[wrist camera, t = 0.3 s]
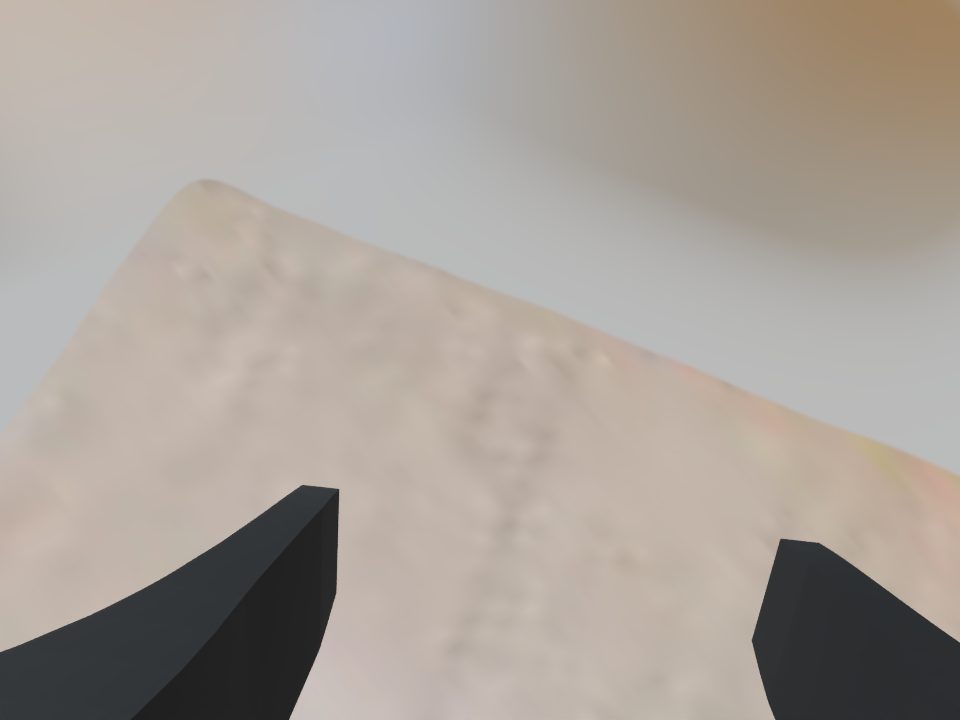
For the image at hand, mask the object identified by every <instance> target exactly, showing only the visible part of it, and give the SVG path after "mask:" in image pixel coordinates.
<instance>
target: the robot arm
mask: <svg viewBox="0 0 960 720" xmlns="http://www.w3.org/2000/svg"><path fill="white" fill-rule="evenodd" d="M338 513H339V489H334V488H325V487H316V486H307V485H302V486H300V487H299V488H297V489H296V490H294V491H293V492H292V493H290V494H289V495H287V496H286V497H285V498H283V499H282V500H280V501H279V502H278V503H276V504H275V505H273V506H272V507H271V508H269V509H268V510H267V511H265V512H264V513H262V514H261V515H260V516H258V517H257V518H255V519H254V520H252V521H251V522H250V523H248V524H247V525H245V526H244V527H242V528H241V529H239V530H238V531H237V532H235V533H234V534H232V535H231V536H229V537H228V538H226V539H225V540H224V541H222V542H221V543H219V544H217V545H216V546H214V547H213V548H211V549H209V550H208V551H206V552H205V553H203V554H201V555H200V556H198V557H197V558H195V559H193V560H192V561H190V562H188V563H187V564H185V565H184V566H182V567H180V568H179V569H177V570H176V571H174V572H172V573H171V574H169V575H167V576H166V577H164V578H162V579H160V580H159V581H157V582H155V583H153V584H151V585H149V586H148V587H146V588H144V589H142V590H140V591H138V592H136V593H134V594H132V595H130V596H128V597H126V598H124V599H122V600H121V601H119V602H117V603H115V604H113V605H111V606H109V607H107V608H105V609H102V610H100V611H98V612H96V613H94V614H92V615H90V616H87V617H85V618H83V619H80V620H78V621H76V622H73V623H71V624H68V625H66V626H64V627H61V628H59V629H57V630H54V631H52V632H50V633H47V634H45V635H43V636H40V637H38V638H35V639H33V640H31V641H28V642H26V643H24V644H21V645H19V646H16V647H13V648H11V649H8V650H5V651H3V652H0V720H289V718H290V716H291V714H292V712H293V709H294V707H295V705H296V702H297V700H298V698H299V696H300V693H301V691H302V689H303V686H304V684H305V682H306V679H307V677H308V675H309V672H310V670H311V668H312V666H313V663H314V661H315V658H316V656H317V654H318V651H319V649H320V646H321V643H322V639H323V636H324V633H325V630H326V626H327V623H328V620H329V616H330V613H331V609H332V606H333V602H334V599H335V595H336V585H337V549H338ZM752 643H753V647H754V651H755V655H756V659H757V663H758V667H759V671H760V675H761V678H762V682H763V685H764V689H765V692H766V696H767V699H768V702H769V705H770V707H771V710H772V712H773V715H774V717H775V720H960V643H959V642H958V641H957V640H955V639H954V638H952V637H951V636H949V635H948V634H947V633H945V632H944V631H942V630H941V629H939V628H938V627H937V626H935V625H934V624H932V623H931V622H930V621H928V620H927V619H926V618H924V617H923V616H921V615H920V614H919V613H917V612H916V611H915V610H913V609H912V608H910V607H909V606H908V605H906V604H905V603H904V602H902V601H901V600H899V599H898V598H897V597H895V596H894V595H893V594H891V593H890V592H889V591H887V590H886V589H885V588H883V587H882V586H880V585H879V584H878V583H876V582H875V581H874V580H872V579H871V578H870V577H868V576H867V575H865V574H864V573H863V572H861V571H860V570H859V569H857V568H856V567H854V566H853V565H852V564H850V563H849V562H847V561H846V560H845V559H843V558H842V557H840V556H839V555H837V554H836V553H834V552H833V551H831V550H830V549H828V548H826V547H825V546H823V545H821V544H820V543H815V542H806V541H797V540H788V539H780V542H779V546H778V550H777V553H776V557H775V560H774V564H773V567H772V571H771V574H770V578H769V582H768V585H767V589H766V592H765V596H764V599H763V603H762V606H761V610H760V613H759V617H758V621H757V624H756V628H755V631H754V635H753V638H752Z"/></svg>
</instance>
